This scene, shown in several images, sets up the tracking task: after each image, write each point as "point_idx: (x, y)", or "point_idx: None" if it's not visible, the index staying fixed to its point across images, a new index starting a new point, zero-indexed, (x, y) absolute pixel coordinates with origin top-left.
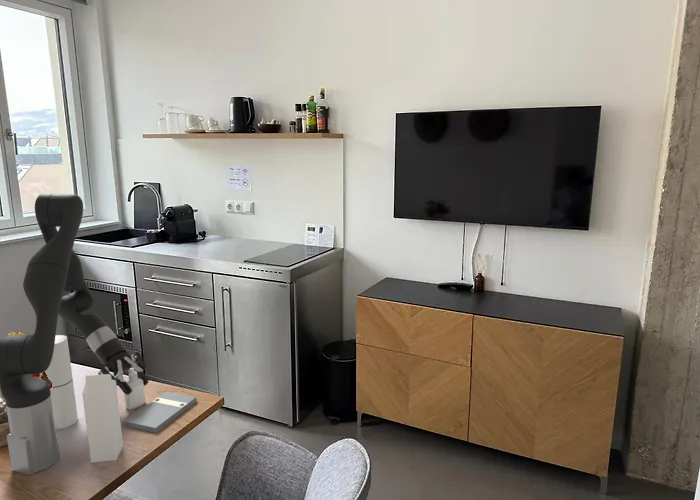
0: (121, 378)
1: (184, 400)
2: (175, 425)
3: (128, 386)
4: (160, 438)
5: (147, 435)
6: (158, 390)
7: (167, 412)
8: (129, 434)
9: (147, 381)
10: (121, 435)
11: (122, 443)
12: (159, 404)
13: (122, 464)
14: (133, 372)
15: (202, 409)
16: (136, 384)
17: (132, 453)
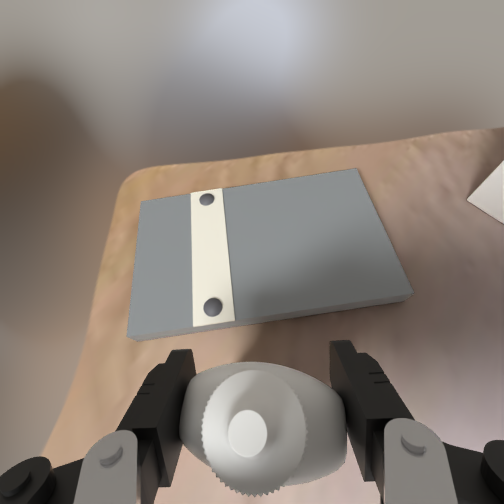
0: (417, 460)
1: (175, 215)
2: (290, 169)
3: (351, 364)
4: (359, 156)
5: (376, 191)
6: (94, 438)
7: (268, 204)
8: (416, 238)
9: (180, 349)
10: (500, 164)
11: (476, 189)
12: (237, 271)
13: (498, 145)
14: (259, 395)
15: (186, 170)
16: (270, 363)
17: (455, 160)
